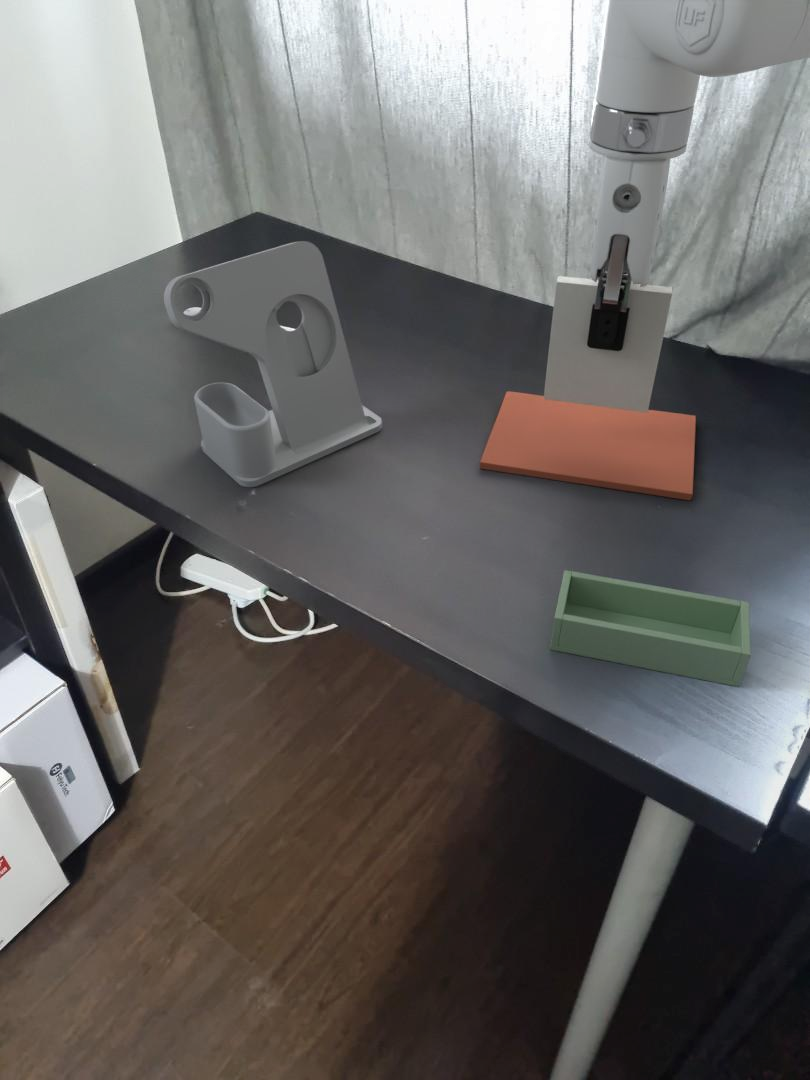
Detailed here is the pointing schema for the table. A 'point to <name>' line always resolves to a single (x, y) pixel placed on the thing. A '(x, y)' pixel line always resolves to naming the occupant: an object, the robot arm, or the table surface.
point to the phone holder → (274, 364)
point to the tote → (652, 627)
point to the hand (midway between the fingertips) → (605, 341)
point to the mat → (593, 445)
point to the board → (597, 370)
